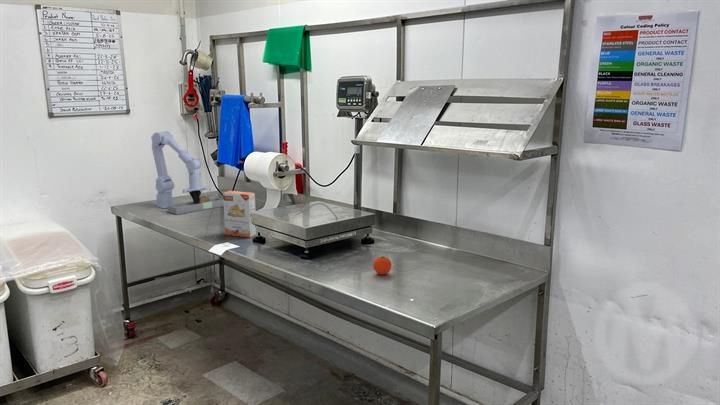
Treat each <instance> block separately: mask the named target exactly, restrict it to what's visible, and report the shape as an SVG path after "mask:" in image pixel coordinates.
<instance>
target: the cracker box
mask: <svg viewBox="0 0 720 405" xmlns="http://www.w3.org/2000/svg"><path fill="white" fill-rule="evenodd" d="M222 193H223V194H222V196H223V198H222V199H224V207H223V215H224V216H223V217H224V218H223V220H224V234H225V236H231V235H232V236H231V237H239V236H240V237H239V238H247V237H248V239H250V238H253V237H255V236H256V235H257V226H256V227H255V225H253V224H252V223H251V217H250V214H251V212H256V192H251V191H250V192H249V191H237V190H228V191H224V192H222Z"/></svg>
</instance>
